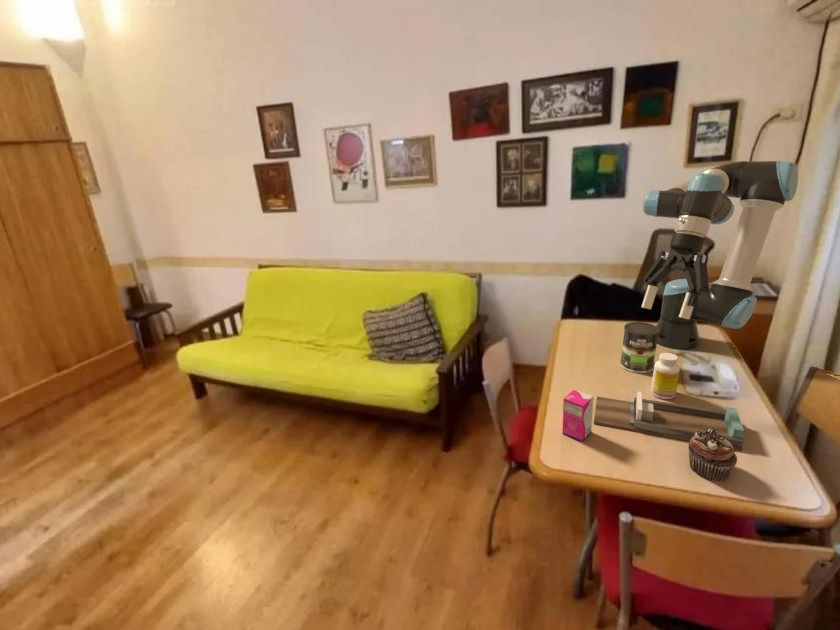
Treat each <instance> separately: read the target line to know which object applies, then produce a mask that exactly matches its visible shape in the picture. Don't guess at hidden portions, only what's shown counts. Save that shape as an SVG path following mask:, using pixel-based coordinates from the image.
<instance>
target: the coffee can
mask: <svg viewBox="0 0 840 630" xmlns="http://www.w3.org/2000/svg"><path fill="white" fill-rule="evenodd" d="M623 329H624V330H623V338H622V339H623V340H622V346H621V347H622V348H621V354H620V361H619V365H620V367H621V368H622V369H624V370H626V371H627V372H630V373H634V374H635V373H636V374H647V373H650V372H652V371H654V365H655V358H656V352H657V351H656V350H657V344H658V343H657V340H658V334H659V328H658V327H656V325H655V324H652V323H648V322H643V321H642V322H641V321H632V322H627V323H625V324H624V326H623Z"/></svg>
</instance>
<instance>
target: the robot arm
mask: <svg viewBox="0 0 840 630" xmlns="http://www.w3.org/2000/svg"><path fill="white" fill-rule="evenodd" d="M798 181H799V168H798V166H797V164H796V163H795V162H793V161H781V160H769V161H768V160H763V161H762V160H761V161H759V160H757V161H755V160H754V161H753V160H752V161H751V160H750V161H746V160H741V161H740V160H739V161H733V162H728V163H725V164H720V165H718V166H714V167H712V168H710V169H707V170H705V171H704V172H702V173H696V174H695V175H692V177H691V178H690V180H687V182H683V183H681V184H679V185H676V186H674V187H672V188H669V189H667V190H661V189H658V190H655V189H654V190H650V191H649V192H647V193H646V194H645V197H644V200H643V201H642V203H643V204H642V209H643V213H644V214H645V215H646V216H651V217H655V218H670V219H677V222H676V225H675V227H674V232H675V233H672V236H671V240H670V243H669V248H670V251H669V252H668V251H665V250H661V251H660V252H659V253H658V254H659V255H658V257H657V259H656V260H655V261H654V263H653V264H652V266H651V267H650V268H649V270H648V271H647V273H646V274H645V275H644V277H643V278H642V281H643V282H644V283H646V288H645V291H644V296H643V301H642V304H641V308H643V309H648V310H652V307H653V305H654V302H655V298H656V295H657V292H658V289H659V287H658V284H659V283H661V282H662V281H663V280H664V279H666V277H667V276H668V275H669V274H670V273H672V272H674V271H682V272H683V273H684V277H685V278H678V279H674V280H670V281H668V282H667V283H666V284H665V286H664V291H663V294H662V303H661V308H660V309H661V311H660V315H659V316H660V317H659V320H658V321H657V323H656V325H655V326H656V327H658V328H659V334H658V340H657V344H658V345H660V346H662V347H665V348H666V347H667V348H671V349H676V350H677V349H678V350H690V349H693V348H697V347H698V345H699V342H700V333H699V330H698V323H697V321H701V322H704V323H708V324H713V325H717V326H720V327H722V328H729V329H733V330H734V329H735V330H736V329H741V328H742V327H744V326H745V324H747V323H748V321H749V320H750V318H751V317H752V315H753V313H754V311H755V309H756V306H757V305H756V304H757V301H758V299H757V297H755V295H753V294H754V289H753V287H752V286H751V282H752V279H753V277H754V273H755V271H756V267H757V265H758V262H759V260H760V257H761V253H762V251H763V248H764V246H765V242H766V239H767V236H768V234H769V230H770V228H771V224H772V221H773V219H774V216H775V213H776V212H777V211H779V210H781V209H783V208H784V205H785V202H789V201H793V199H794V198H795V195H796V193H797V188H798V183H799V182H798ZM730 198H736V199H739V202H738V203H739V205H740V206H741V207H742V210H741V213H740V216H739V218H738V222H737V225H736V227H735V228H736V229H735V231H734V234H733V237H732V239H731V243H730V246H729V248H728V250H727V254H726V257H725V260H724V264H723V267H722V269H721V273H720V275H719V278H718V279H717V280H714V281H713V282H712V283H711V286H710V285H709V276H708V275H709V274H708V262H709V256H708V255H706V254H703V253H702V254H701V252H702V251H703V247H704V245H705V241H706V239H705V237H707V235H708V233H709V229H710V227H711V225H721V224H723V223H726V222H727V221H729V220H730V219H731V217H732V216H733V214H734V211H735V205H734V204H733V202H732V199H730Z"/></svg>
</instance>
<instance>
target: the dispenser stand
mask: <svg viewBox="0 0 840 630" xmlns="http://www.w3.org/2000/svg"><path fill="white" fill-rule="evenodd" d="M636 400H637V397H634V399H633V401H628V400H627V401H626V400H620V399H616V398H608V397H604V396H602V397H601V396H596V402H595V411H594V419H593V425H597V426H604V427H609V428H615V429H619V430H626V431H631V432H636V433H642V434H648V435H652V436H657V437H664V438H669V439H675V440H681V441H685V442H686V441H687V442H690V440H691V438H692V437H693V436H695V433H696V432H697V431H699V432H702V433H705V431H708V430H709V429H712V428H713V429H716V430H715V431H716V432H717V433H718V434H720V435H721V436H723V437H724V438H725V439H726V440H727V441H729V442H730V443H731V444H732V445H733V447H734V449H735V451H739V452H740V451H742V449H743V443H744V439H743V438H744V433H745V430H744V427H743V424H742V422H741V421H742V420H741V418H740V416H739V413H738V410H737V408H735V407H726V409H725V410H726V411H722V410H718V409H710V408H705V407H698V406H697V407H696V406H691V405H684V404H678V403H671V402H666V401H657V400H654V399H653V400H652V399H646V398H642V402H644V403H650V404H653V409H654V414H653V420H652V421H648V420H642V419H641V421H638V420H636ZM717 436H719V435H717Z"/></svg>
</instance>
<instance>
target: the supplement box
mask: <svg viewBox="0 0 840 630" xmlns="http://www.w3.org/2000/svg"><path fill="white" fill-rule="evenodd" d="M562 405H563V407H562V430H561V431H562V434H563V435H565V436H567V437H569V438H571V439H574V440H576V441H579V442H581V443H582V442H584V440H585V439H586V438H587V437H588V436H589V435H590V434H591V433H592V427H593V425H592V423H593V412H594V411H593V409H594V395H591V394H588V393H585V392H582V391H579V390H577V389H573V390H571V391H570V392H569V393H568V394H567V395H566V396H565V397H564V398H563V404H562Z"/></svg>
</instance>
